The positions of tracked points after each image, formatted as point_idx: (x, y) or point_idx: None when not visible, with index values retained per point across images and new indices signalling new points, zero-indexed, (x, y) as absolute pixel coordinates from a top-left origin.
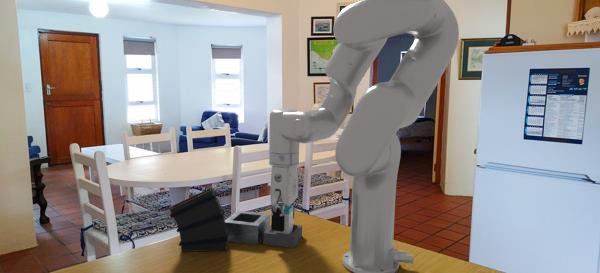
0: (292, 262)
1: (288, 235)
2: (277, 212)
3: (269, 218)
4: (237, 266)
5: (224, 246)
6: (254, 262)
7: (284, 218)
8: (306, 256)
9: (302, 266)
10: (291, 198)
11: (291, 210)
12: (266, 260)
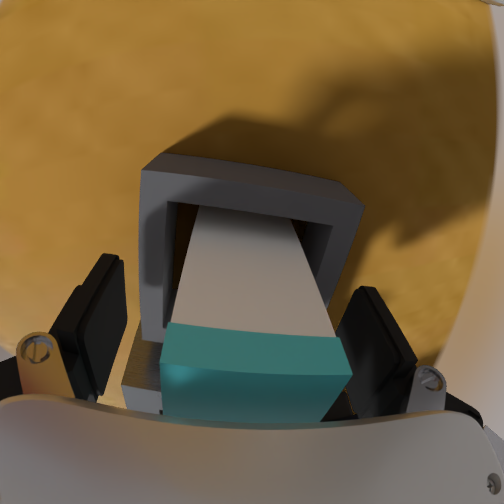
0: (466, 187)
1: (349, 242)
2: (465, 409)
3: (134, 367)
4: (444, 337)
5: (349, 403)
6: (437, 307)
7: (397, 343)
8: (428, 124)
9: (492, 152)
10: (431, 481)
11: (253, 342)
12: (435, 278)
